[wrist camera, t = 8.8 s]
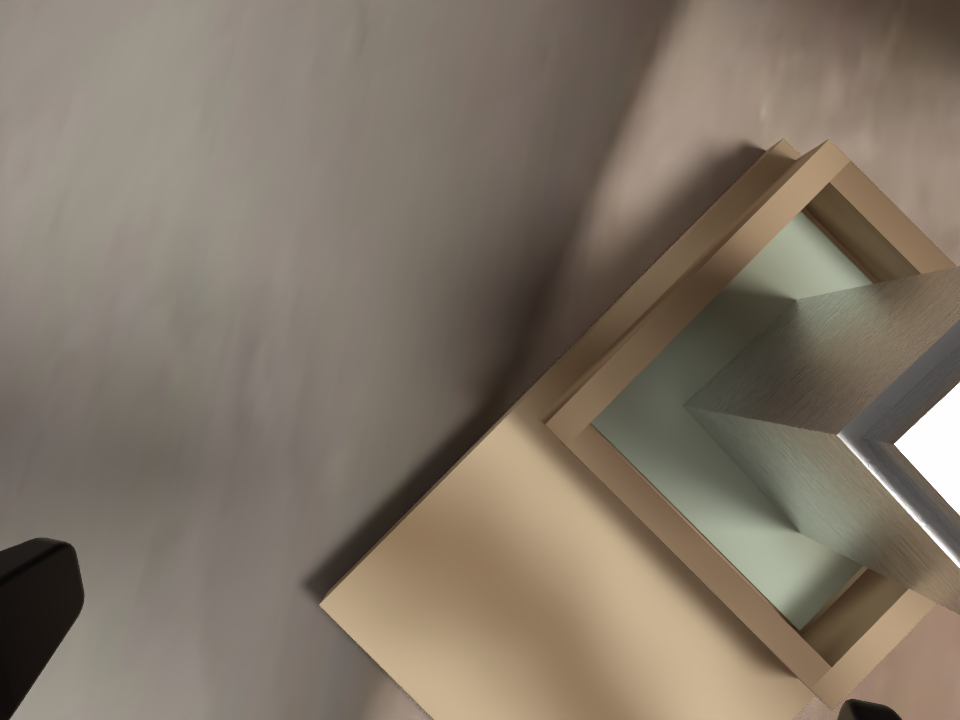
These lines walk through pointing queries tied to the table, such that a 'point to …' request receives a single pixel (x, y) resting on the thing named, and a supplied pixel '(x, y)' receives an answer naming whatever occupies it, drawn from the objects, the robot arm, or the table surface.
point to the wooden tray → (647, 500)
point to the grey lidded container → (856, 425)
